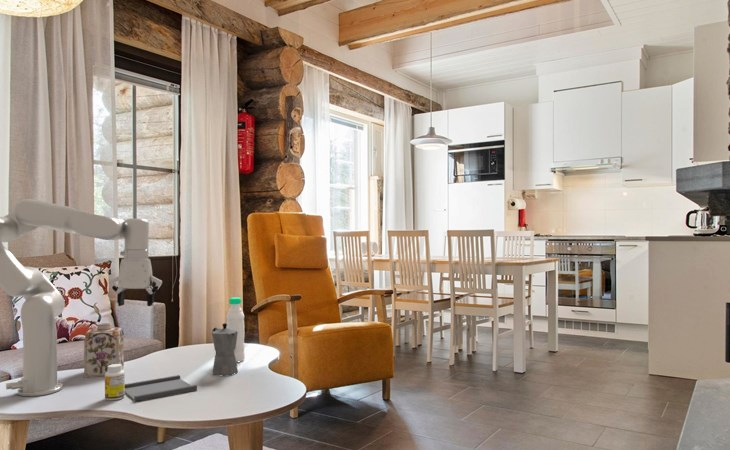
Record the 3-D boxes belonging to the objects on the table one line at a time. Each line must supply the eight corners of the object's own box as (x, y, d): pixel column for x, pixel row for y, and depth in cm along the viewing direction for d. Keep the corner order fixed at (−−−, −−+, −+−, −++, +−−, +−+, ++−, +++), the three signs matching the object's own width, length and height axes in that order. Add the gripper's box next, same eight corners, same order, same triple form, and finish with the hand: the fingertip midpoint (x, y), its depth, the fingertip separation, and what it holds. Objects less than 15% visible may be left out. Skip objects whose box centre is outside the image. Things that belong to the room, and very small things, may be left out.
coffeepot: (246, 373, 197) (245, 323, 197) (222, 378, 191) (222, 327, 191) (224, 366, 208) (224, 319, 209) (201, 371, 202) (201, 322, 202)
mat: (135, 401, 165) (135, 397, 165) (121, 389, 179) (121, 384, 179) (196, 390, 177) (196, 385, 177) (179, 379, 190) (178, 375, 190)
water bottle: (224, 359, 219) (224, 297, 219) (242, 358, 222) (242, 296, 222) (228, 363, 213) (227, 299, 213) (246, 361, 216) (246, 298, 216)
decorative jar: (83, 378, 194) (83, 327, 194) (90, 370, 205) (90, 322, 205) (119, 375, 197) (119, 325, 197) (124, 367, 208) (124, 320, 208)
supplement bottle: (106, 396, 171) (106, 363, 171) (125, 395, 173) (125, 362, 173) (103, 401, 166) (103, 368, 166) (123, 400, 167) (123, 366, 168)
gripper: (105, 255, 181) (104, 306, 181) (158, 255, 181) (157, 307, 181) (115, 254, 189) (114, 304, 188) (165, 254, 189) (165, 304, 189)
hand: (135, 305), depth 185 cm, fingers open, 9 cm apart
